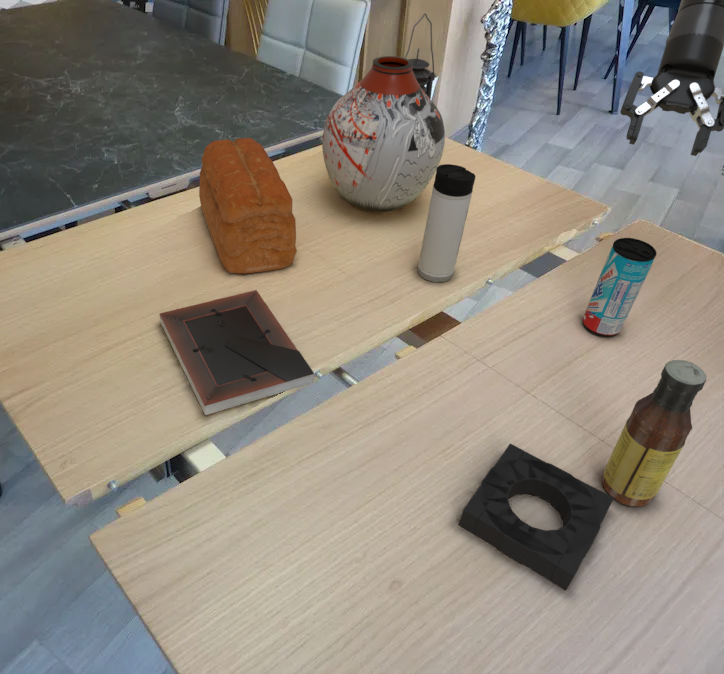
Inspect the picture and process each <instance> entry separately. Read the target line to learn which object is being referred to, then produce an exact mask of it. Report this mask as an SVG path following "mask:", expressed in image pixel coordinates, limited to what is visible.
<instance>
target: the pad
mask: <svg viewBox="0 0 724 674" xmlns="http://www.w3.org/2000/svg"><path fill="white" fill-rule="evenodd" d="M518 495H530V496H534V497H538V498H540V499H542V500H544V501H546V502H547V503H549V504H550V505H551V506H552V507H553V508H554V509H555V510H556V511H557V512H558V515H559V516H560V518H561V520H562V525H563V526H562V527H559V528H557V529H549V530H548V529H547V530H545V529H542V528H538V527H534V526H531V525H530V524H528V523H527V522H525V521H523V520H522V519H521V518H520V517H519V516H518V515H517V514H516V513H515V512H514V511H513V509H512V506H511V504H510V502H509V499H511V498H513V497H514V496H518ZM614 500H615V498H613V497H612V496H611V495H610V494H609V493H606V492H604V491H602V490H600V489H597V488H596V487H594V486H591V485H590V484H588V483H587V482H584V481H582V480H581V479H578V478H577V477H575V476H574V475H572V474H571V473H570V472H568V471H565V470H563V468H560V467H558V466H556V465H554V464H553V463H549V462H546V461H544V460H543V459H541V458H539V457H537V456H535V455H533V454H531V453H529V452H528V451H525V450H523V449H522V448H520V447H518V446H516V445H514V444H512V443H509V444H508V446H507V447H506V448H505V450H504V451H503V452H502V454H501V455H500V457H499V459H498V460H497V461H496V462H495V464H494V465H493V466H492V467H491V468H490V469H489V471H488V472H487V473H486V474H485V476H484V478H483V479H482V481H481V482H480V485H479V486H478V488H477V490H476V491H475V492H474V494H473V496H471V498H470V500H469V501H468V502H467V504H466V505H465V507H464V508H463V510H462V512H461V516H460V518H459V521H458V526H459V527H461V528H463V529H465V530H466V531H468V532H469V533H471V534H473V535H475V536H476V537H477V538H479V539H481V540H482V541H484V542H486V543H487V544H489V545H491V546H492V547H494V548H496V550H497V551H499V552H500V553H502V554H504V555H505V556H507V557H509V558H511V559H512V560H513V561H515V562H517V563H519V564H520V565H524V566H525V567H527V568H529V569H531V570H532V571H533V572H535V573H536V574H539V575H540V576H541V577H543V578H545V579H547V580H548V581H549V582H552V583H553V584H555V585H556V586H558V587H560V588H561V589H563V590H565V591H567V590H568V588H569V586H570V584H571V583H572V581H573V579H574V578H575V577H576V574H577V572H578V571H579V568H580V566H581V564H582V562H583V560H584V559H585V557H586V556H587V554H588V553H589V551H590V550H591V548H592V546H593V544H594V543H595V540H596V538H597V536H598V533H599V532H600V530H601V525H602V523H603V521H604V519H605V517H606V515H607V513H608V511H609V509H610V507H611V505H612V503H613V501H614Z"/></svg>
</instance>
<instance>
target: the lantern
mask: <svg viewBox="0 0 724 674" xmlns="http://www.w3.org/2000/svg"><path fill="white" fill-rule="evenodd" d="M424 17H425V18H426V20H427V21H428V22H429V25H430V27H429V29H430V52H431V59H432V60H431V61H432V62H431V63H432V72H431V70H430V69H428V68H429V67H430V63H429V62H428V61H426V60H425V59H421V58H419V52H420V48H419V47H418V48H417V52H416V58H409V59H408V58H407V56H408V55H409V52H410V49H411V45H412V40H413V36H414V32H415V28H416V26H417V25H418V24H419V23H420V22H421V21H422V20H423V19H424ZM404 58H405V59H408V60H410V61H411V62H412V63H413V66H412V70H413V73H414V76H415V78H416V80H417V81H418V83H419V85H420V86H421V88H422V89H423V90H424V92H425V93H426V94H427V96H428V97H429V98H430V99H431V100H432V91H433V90H432V89H433V83H434V81H435V79H436V74H435V60H434V59H435V58H434V50H433V24H432V21H431V20H430V18H429V17H428V14H427V13H423V15H422V16H421V17H420V19H419V20H418V21H417V22H416V23H415V24H414V25H413V27H412V31H411V35H410V39H409V43H408V49H407V52H406V54H405V56H404Z"/></svg>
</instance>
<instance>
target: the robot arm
mask: <svg viewBox="0 0 724 674" xmlns="http://www.w3.org/2000/svg"><path fill="white" fill-rule="evenodd" d="M723 50H724V0H681V1H680V3H679V7H678V11H677V13H676V17H675V19H674V21H673V23H672V25H671V28H670V31H669V34H668V36H667V37H666V41H665V47H664V50H663V53H662V57H661V60H660V63H659V67H658V70H657V73H656V75H655V76H654V77H652V76H647V75H645V74H644V72H643V71H641V70H639V71H637V72H635V73H634V76H633V78H632V80H631V81H630V84H629V87H628V90H627V93H626V94H625V97H624V100H623V103H622V106H621V108H620V111H619V112H620V115H621V116H627V117H629V119H630V122H629V126H628V130H627V132H626V140H627V141H629V142H628V144H629V145H633V146H635V144H636V142H637V140H638V138H639V134H640V132H641V128H642V125H643V121H644V118H645V117H646V116H647V115H649V114H651V113H653V111H655V110H656V109H658V108H659V109H661V111H662V112H675V113H677V114H681V115H685V114H687V113H688V114H689V116H690V117H691V119H692V121H693V122H694V123H695V124H696V126H697V128H698V131H697V132H696V135H695V138H694V141H693V144H692V148H691V152H690V156H693V157H697V156H698V155H699V154H702V152H703V151H704V150H705V149H706V148H707V146H708V144H709V143H708V142H709V139H710V136H711V132H715V131H716V132H722V131H723V130H724V87H718V86H715V78H716V73H717V70H718V67H719V64H720V60H721V57H722V54H723ZM646 87H649V89H650V91H651V93H652V95H651V96H650V97H649V98H648V99H647V100H646V101H644V102H643V103H642V104H641V105H639V106H637V105H635V104H634V103H635V100H636V97H637V95H638V92H639V93H640V92H643V91H644V90H645V89H646ZM711 97H713V98H714V99H715V103H716V104H717V105H718V110H717V114H716V118H715V119H714V117H713V114H712V113H711V110H710V105H709V103H708V102H707V100H708V99H710V98H711Z"/></svg>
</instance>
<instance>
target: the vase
mask: <svg viewBox="0 0 724 674" xmlns="http://www.w3.org/2000/svg"><path fill="white" fill-rule="evenodd" d="M412 66H413V63H412V62H411V61H410V60H408V58H406V59H405V57H403V56H402V57H401V56H395V55H394V56H393V55H385V56H379V57H376V58H374V59H373V60H372V65H371V67H370V69H369V70H368V72H367V73H366V74H365V75H364V76H363V78H361V80H359V82H358V83H356V84H355V85H354V86H353V87H352V88H351V89H349V90H348V91H347V92H346V93H345V94H344V95H342V96H341V97H340V98H339V99H338V100H337V101H336V102H335V103H334V104H333V106H332V107H331V109H330V111H329V112H328V114H327V116H326V119H325V122H324V126H323V132H322V142H321V143H322V144H321V147H322V156H323V163H324V165H325V169H326V173H327V175H328V179H329V180H330V182H331V184H332V186H333V187H334V189H335V190H336V192H337V193H338V194H339V196H340V197H341V198H342V199H343V200H345V201H346V203H348V204H349V205H351V206H352V207H354V208H356V209H358V210H360V211H363V212H366V213H367V212H368V213H373V214H384V213H391V212H394V211H397V210H399V209H402V208H404V207H406V206H407V205H409V204H410V203H412V202H413V201H414V200H415V199H417V198H418V197H419V196H420V195H421V194H422V193H423V192H424V190H425V189H426V188H427V186H428V185H429V184H430V183H431V181H432V179H433V178H434V176H435V175H436V171H437V167H438V166H440V163H441V159H442V156H443V152H444V148H445V142H446V131H445V124H444V120H443V116H442V114H441V113H440V110H439V108H438V107H437V106H436V104H435V103H434V101H432V98H431V99H430V98H429V97H428V96H427V94H426V93H425V92H424V90H423V89H422V88H421V86H420V85H419V83H418V81H417V80H416V78H415V76H414V73H413V70H412Z"/></svg>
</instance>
